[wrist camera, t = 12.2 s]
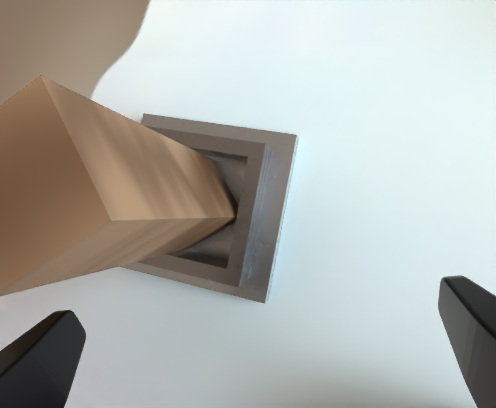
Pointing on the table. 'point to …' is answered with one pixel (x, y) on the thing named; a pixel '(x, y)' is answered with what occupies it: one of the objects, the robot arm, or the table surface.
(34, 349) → the robot arm
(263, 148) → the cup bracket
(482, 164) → the table surface
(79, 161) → the walnut post
